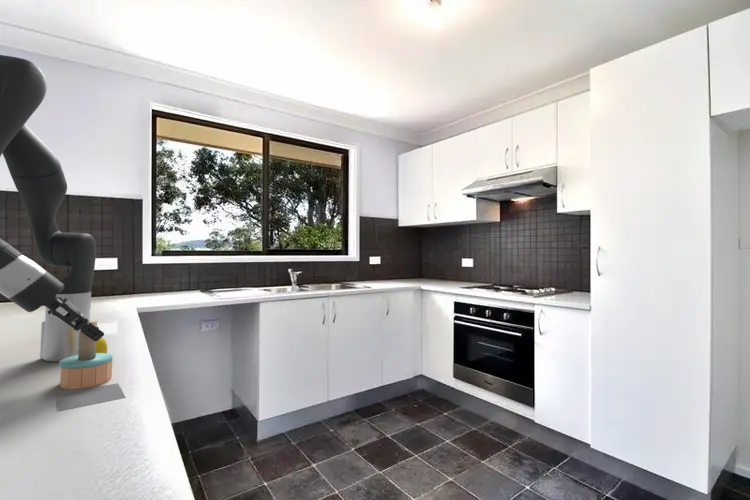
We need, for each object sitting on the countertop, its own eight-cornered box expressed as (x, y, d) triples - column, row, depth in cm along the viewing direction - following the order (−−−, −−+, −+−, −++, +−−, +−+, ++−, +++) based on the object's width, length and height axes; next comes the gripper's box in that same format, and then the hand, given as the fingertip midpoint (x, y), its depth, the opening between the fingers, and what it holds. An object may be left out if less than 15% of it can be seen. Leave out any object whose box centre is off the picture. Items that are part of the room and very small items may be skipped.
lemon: (91, 371, 86) (92, 337, 86) (72, 369, 87) (73, 335, 87) (112, 364, 91) (113, 332, 91) (94, 362, 92) (95, 331, 93)
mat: (55, 396, 71) (55, 394, 71) (117, 385, 77) (117, 383, 77) (57, 413, 63) (57, 411, 63) (125, 399, 70) (125, 397, 70)
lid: (58, 363, 78) (60, 320, 79) (109, 356, 85) (111, 316, 85) (59, 374, 72) (61, 327, 72) (114, 366, 78) (116, 322, 78)
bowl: (59, 381, 78) (60, 360, 79) (108, 373, 84) (109, 354, 84) (60, 393, 72) (61, 370, 72) (113, 384, 78) (114, 363, 78)
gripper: (46, 271, 68) (119, 326, 76) (43, 268, 79) (107, 317, 87) (5, 301, 64) (86, 356, 73) (7, 293, 75) (78, 342, 83)
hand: (97, 334), depth 80 cm, fingers open, 6 cm apart
